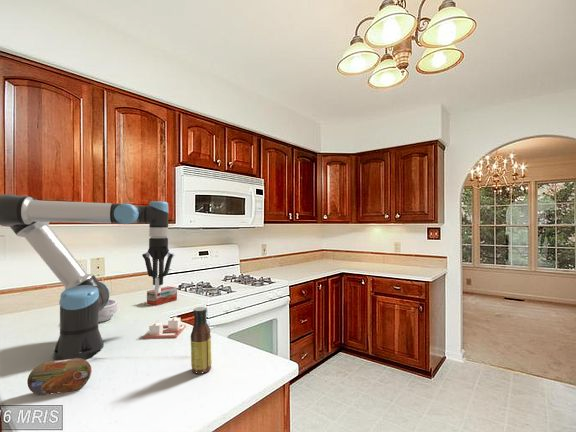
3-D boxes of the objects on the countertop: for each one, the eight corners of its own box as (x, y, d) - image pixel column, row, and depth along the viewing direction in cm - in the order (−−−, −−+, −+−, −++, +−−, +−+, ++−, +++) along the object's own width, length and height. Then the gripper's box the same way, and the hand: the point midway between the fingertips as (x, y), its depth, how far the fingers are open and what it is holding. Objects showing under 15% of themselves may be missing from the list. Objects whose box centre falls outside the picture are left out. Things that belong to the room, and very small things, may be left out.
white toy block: (177, 331, 132) (177, 319, 132) (168, 331, 132) (168, 319, 132) (180, 328, 136) (180, 316, 136) (171, 328, 136) (171, 316, 136)
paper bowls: (76, 326, 142) (76, 309, 143) (86, 316, 157) (86, 300, 157) (114, 323, 147) (114, 306, 147) (120, 313, 162) (120, 298, 162)
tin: (26, 397, 86) (26, 366, 86) (32, 391, 89) (32, 361, 89) (89, 389, 90) (89, 359, 90) (92, 383, 93) (92, 355, 93)
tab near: (159, 336, 126) (159, 324, 126) (149, 336, 126) (149, 324, 126) (162, 333, 130) (162, 320, 130) (153, 333, 130) (153, 321, 130)
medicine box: (168, 298, 193) (168, 285, 193) (177, 300, 189) (177, 287, 189) (146, 304, 180) (146, 290, 180) (155, 306, 176) (155, 292, 176)
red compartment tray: (176, 341, 125) (176, 335, 125) (143, 341, 124) (143, 335, 124) (185, 329, 138) (185, 324, 138) (155, 330, 137) (155, 324, 137)
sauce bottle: (203, 364, 105) (203, 304, 105) (215, 369, 101) (215, 307, 101) (186, 371, 100) (186, 308, 100) (198, 377, 96) (198, 312, 96)
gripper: (176, 237, 139) (176, 290, 138) (146, 236, 138) (145, 290, 138) (171, 238, 131) (170, 294, 131) (139, 237, 131) (138, 294, 130)
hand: (157, 292), depth 134 cm, fingers closed
